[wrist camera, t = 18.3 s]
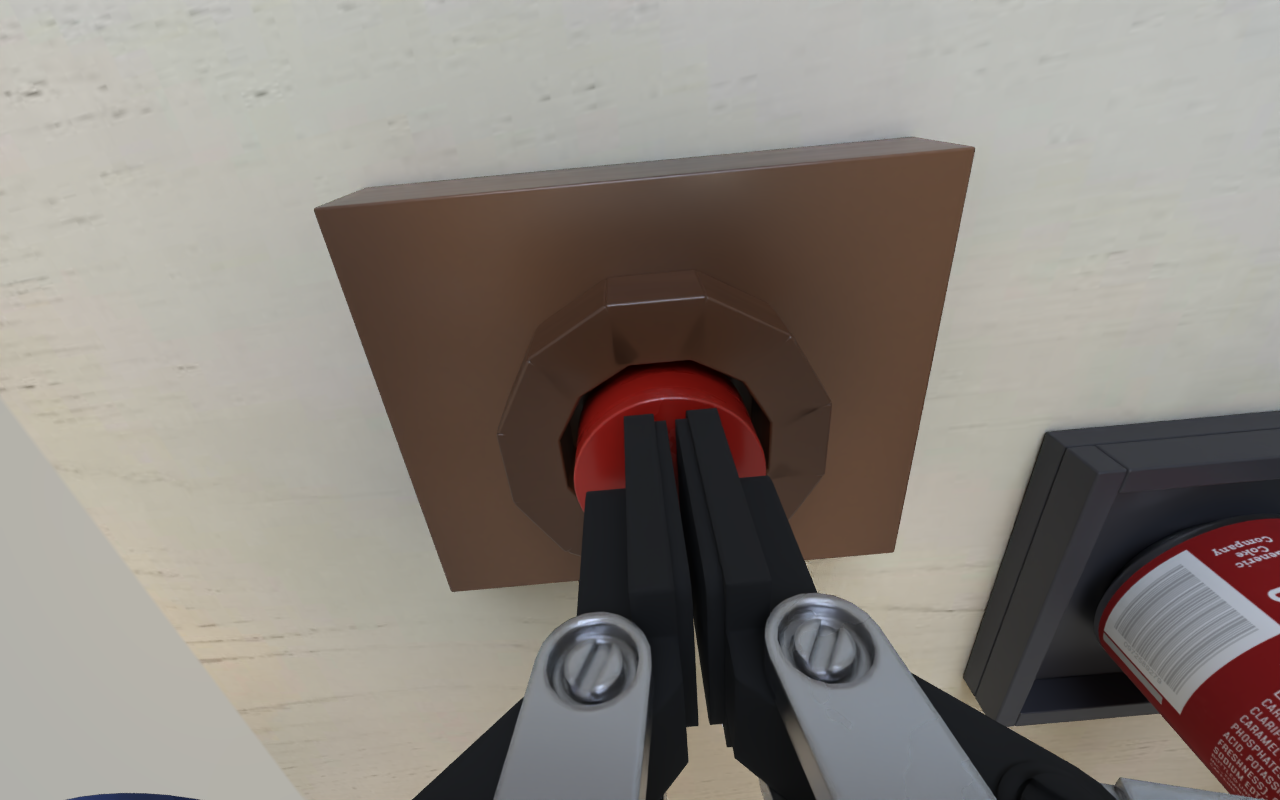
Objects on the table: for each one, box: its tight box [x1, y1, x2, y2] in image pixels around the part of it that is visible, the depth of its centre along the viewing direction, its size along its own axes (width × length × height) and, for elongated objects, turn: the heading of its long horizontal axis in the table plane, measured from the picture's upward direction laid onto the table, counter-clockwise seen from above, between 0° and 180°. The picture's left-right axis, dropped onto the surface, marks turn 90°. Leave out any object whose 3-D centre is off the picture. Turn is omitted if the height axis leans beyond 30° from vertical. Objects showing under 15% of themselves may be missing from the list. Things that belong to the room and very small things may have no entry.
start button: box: [574, 360, 766, 511], centre depth 11 cm, size 4×4×2 cm
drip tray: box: [963, 411, 1280, 727], centre depth 18 cm, size 12×12×2 cm
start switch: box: [314, 137, 975, 592], centre depth 13 cm, size 12×10×4 cm
